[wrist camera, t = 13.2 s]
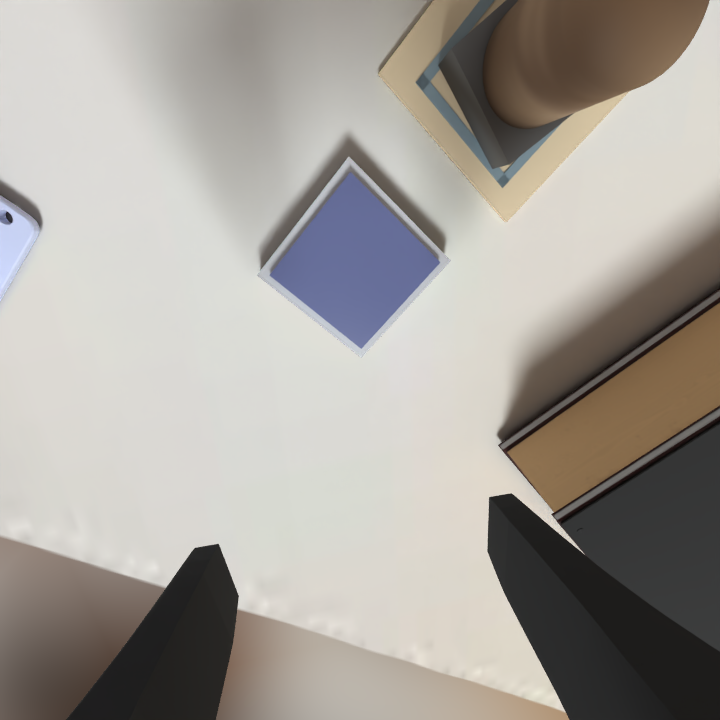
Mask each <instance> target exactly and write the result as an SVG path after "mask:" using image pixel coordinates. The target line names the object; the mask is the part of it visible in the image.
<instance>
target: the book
mask: <svg viewBox="0 0 720 720" xmlns="http://www.w3.org/2000/svg"><path fill="white" fill-rule="evenodd" d="M498 446H499V447H500V448H501V449H502V451H503V452H504V453H505V454H506V456H507V457H508V458H509V459H510V460H511V461H512V463H513V464H514V465H515V466H516V467H517V469H518V470H519V471H520V472H521V473H522V474H523V476H524V477H525V478H526V479H527V480H528V482H529V483H530V484H531V485H532V486H533V487H534V489H535V490H536V491H537V492H538V493H539V495H540V496H541V497H542V498H543V499H544V500H545V502H546V503H547V504H548V505H549V507H550V508H551V509H552V510H553V512H554V513H553V514H552V516H553V517H554V518H555V519H556V520H557V522H558V523H559V525H560V526H561V527H562V528H563V529H564V530H565V532H566V533H567V534H568V535H569V536H570V537H571V539H572V540H573V541H574V542H575V543H576V544H577V546H578V547H579V548H580V549H581V550H582V551H583V553H584V554H585V555H586V556H587V557H588V558H589V559H591V560H592V561H593V562H594V563H596V564H597V565H598V566H599V567H601V568H602V569H603V570H605V571H606V572H607V573H608V574H610V575H611V576H612V577H614V578H615V579H616V580H618V581H619V582H620V583H622V584H623V585H624V586H626V587H627V588H628V589H630V590H631V591H632V592H634V593H635V594H636V595H638V596H639V597H641V598H642V599H643V600H645V601H646V602H647V603H649V604H650V605H652V606H653V607H654V608H656V609H657V610H659V611H660V612H662V613H663V614H664V615H666V616H667V617H669V618H670V619H672V620H673V621H674V622H676V623H677V624H679V625H680V626H682V627H683V628H685V629H686V630H688V631H689V632H691V633H692V634H694V635H695V636H697V637H698V638H700V639H701V640H703V641H704V642H706V643H707V644H709V645H710V646H712V647H714V648H715V649H717V650H718V651H720V289H718V290H717V291H715V292H714V293H713V294H711V295H710V296H708V297H707V298H705V299H704V300H703V301H701V302H700V303H698V304H697V305H696V306H694V307H693V308H691V309H690V310H688V311H687V312H686V313H684V314H683V315H681V316H680V317H679V318H677V319H676V320H674V321H673V322H672V323H670V324H669V325H667V326H666V327H664V328H663V329H662V330H660V331H659V332H657V333H656V334H655V335H653V336H652V337H650V338H649V339H647V340H646V341H645V342H643V343H642V344H640V345H639V346H638V347H636V348H635V349H633V350H632V351H630V352H629V353H628V354H626V355H625V356H623V357H622V358H621V359H619V360H618V361H616V362H615V363H614V364H612V365H611V366H609V367H608V368H606V369H605V370H604V371H602V372H601V373H599V374H598V375H597V376H595V377H594V378H592V379H591V380H589V381H588V382H587V383H585V384H584V385H582V386H581V387H580V388H578V389H577V390H575V391H574V392H573V393H571V394H570V395H568V396H567V397H565V398H564V399H563V400H561V401H560V402H558V403H557V404H556V405H554V406H553V407H551V408H550V409H548V410H547V411H546V412H544V413H543V414H541V415H540V416H539V417H537V418H536V419H534V420H533V421H532V422H530V423H529V424H527V425H526V426H524V427H523V428H522V429H520V430H519V431H517V432H516V433H515V434H513V435H512V436H510V437H509V438H507V439H506V440H505V441H503V442H502V443H500V444H499V445H498Z"/></svg>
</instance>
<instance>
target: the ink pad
mask: <svg viewBox="0 0 720 720" xmlns="http://www.w3.org/2000/svg"><path fill="white" fill-rule="evenodd" d="M450 261H451V260H450V259H449V258H448V257H447V256H446V255H445V254H444V253H443V252H442V251H441V250H440V249H439V248H438V247H437V246H436V245H435V244H434V243H433V242H432V241H431V240H430V239H429V238H428V237H427V236H426V235H425V234H424V233H423V232H422V231H421V230H420V229H419V228H418V227H417V226H416V224H415V223H414V222H413V221H412V220H411V219H410V218H409V217H408V216H407V215H406V214H405V213H404V212H403V211H402V210H401V209H400V208H399V207H398V206H397V205H396V204H395V203H394V202H393V201H392V200H391V199H390V198H389V197H388V196H387V195H386V194H385V193H384V192H383V191H382V190H381V189H380V188H379V187H378V186H377V185H376V184H375V183H374V181H373V180H372V179H371V178H370V177H369V176H368V175H367V174H366V173H365V172H364V171H363V170H362V169H361V168H360V167H359V166H358V165H357V164H356V163H355V162H354V161H353V160H352V159H351V158H350V157H348V158H347V159H346V161H345V162H344V163H343V165H342V166H341V167H340V168H339V170H338V171H337V172H336V174H335V175H334V176H333V177H332V179H331V180H330V181H329V183H328V184H327V185H326V187H325V188H324V189H323V190H322V192H321V193H320V194H319V196H318V197H317V198H316V199H315V201H314V202H313V203H312V205H311V206H310V207H309V208H308V210H307V211H306V212H305V214H304V215H303V216H302V218H301V219H300V220H299V221H298V223H297V224H296V225H295V227H294V228H293V229H292V230H291V232H290V233H289V234H288V236H287V237H286V238H285V239H284V241H283V242H282V243H281V245H280V246H279V247H278V249H277V250H276V251H275V252H274V254H273V255H272V256H271V258H270V259H269V260H268V261H267V263H266V264H265V265H264V267H263V268H262V269H261V270H260V272H259V273H258V274H257V276H258V277H260V278H261V279H262V280H264V281H265V282H266V283H267V284H269V285H270V286H271V287H272V288H274V289H275V290H276V291H277V292H279V293H280V294H281V295H282V296H284V297H285V298H286V299H288V300H289V301H290V302H291V303H293V304H294V305H295V306H296V307H298V308H299V309H300V310H301V311H303V312H304V313H305V314H307V315H308V316H309V317H310V318H312V319H313V320H314V321H315V322H317V323H318V324H319V325H320V326H322V327H323V328H324V329H325V330H327V331H328V332H329V333H331V334H332V335H333V336H334V337H336V338H337V339H338V340H339V341H341V342H342V343H343V344H344V345H346V346H347V347H348V348H350V349H351V350H352V351H353V352H355V353H356V354H357V355H358V356H360V357H361V358H362V357H363V355H364V354H365V353H366V352H367V351H368V350H369V349H370V348H371V347H372V346H373V345H374V344H375V342H376V341H377V340H378V339H379V338H380V337H381V336H382V335H383V334H384V333H385V332H386V331H387V329H388V328H389V327H390V326H391V325H392V324H393V323H394V322H395V321H396V320H397V319H398V317H399V316H400V315H401V314H402V313H403V312H404V311H405V310H406V309H407V308H408V307H409V306H410V304H411V303H412V302H413V301H414V300H415V299H416V298H417V297H418V296H419V295H420V294H421V293H422V291H423V290H424V289H425V288H426V287H427V286H428V285H429V284H430V283H431V282H432V281H433V280H434V278H435V277H436V276H437V275H438V274H439V273H440V272H441V271H442V270H443V269H444V268H445V266H446V265H447V264H448V263H449V262H450Z"/></svg>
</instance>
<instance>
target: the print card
mask: <svg viewBox="0 0 720 720" xmlns="http://www.w3.org/2000/svg"><path fill="white" fill-rule="evenodd" d="M505 1H506V0H433V2H432V3H431V4H430V6H429V7H428V8H427V10H426V11H425V12H424V14H423V15H422V16H421V18H420V19H419V20H418V22H417V23H416V24H415V26H414V27H413V28H412V30H411V31H410V32H409V34H408V35H407V36H406V38H405V39H404V40H403V42H402V43H401V44H400V46H399V47H398V48H397V50H396V51H395V52H394V54H393V55H392V56H391V58H390V59H389V60H388V61H387V63H386V64H385V65H384V67H383V68H382V69H381V71H380V72H379V74H378V75H379V76H380V77H381V78H382V80H383V81H384V82H385V83H386V84H387V85H388V87H389V88H390V89H391V90H392V91H393V92H394V94H395V95H396V96H397V97H398V98H399V99H400V101H401V102H402V103H403V104H404V105H405V106H406V108H407V109H408V110H409V111H410V112H411V113H412V115H413V116H414V117H415V118H416V119H417V120H418V122H419V123H420V124H421V125H422V126H423V127H424V129H425V130H426V131H427V132H428V133H429V134H430V136H431V137H432V138H433V139H434V140H435V141H436V142H437V144H438V145H439V146H440V147H441V148H442V149H443V151H444V152H445V153H446V154H447V155H448V156H449V158H450V159H451V160H452V161H453V162H454V163H455V165H456V166H457V167H458V168H459V169H460V170H461V172H462V173H463V174H464V175H465V176H466V177H467V179H468V180H469V181H470V182H471V183H472V184H473V186H474V187H475V188H476V189H477V190H478V191H479V193H480V194H481V195H482V196H483V197H484V198H485V200H486V201H487V202H488V203H489V204H490V205H491V207H492V208H493V209H494V210H495V211H496V212H497V214H498V215H499V216H500V217H501V218H502V219H503V221H504V222H507V221H508V220H509V219H510V218H511V217H512V216H513V215H514V214H515V213H516V212H517V211H518V209H519V208H520V207H521V206H522V205H523V204H524V203H525V202H526V201H527V200H528V199H529V198H530V197H531V196H532V195H533V193H534V192H535V191H536V190H537V189H538V188H539V187H540V186H541V185H542V184H543V183H544V182H545V181H546V180H547V179H548V177H549V176H550V175H551V174H552V173H553V172H554V171H555V170H556V169H557V168H558V167H559V166H560V165H561V164H562V163H563V161H564V160H565V159H566V158H567V157H568V156H569V155H570V154H571V153H572V152H573V151H574V150H575V149H576V148H577V147H578V145H579V144H580V143H581V142H582V141H583V140H584V139H585V138H586V137H587V136H588V135H589V134H590V133H591V132H592V131H593V129H594V128H595V127H596V126H597V125H598V124H599V123H600V122H601V121H602V120H603V119H604V118H605V117H606V116H607V115H608V113H609V112H610V111H611V110H612V109H613V108H614V107H615V106H616V105H617V104H618V103H619V102H620V101H621V100H622V99H623V97H624V96H625V95H626V94H627V93H628V92H629V91H628V92H626V93H623V94H621V95H618V96H616V97H613V98H611V99H608V100H606V101H603V102H600V103H598V104H595V105H593V106H590V107H588V108H585V109H583V110H580V111H578V112H575V113H574V114H572V115H571V116H570V117H569V118H567V119H566V120H565V121H564V122H562V123H561V124H560V125H559V126H557V127H556V128H555V129H554V130H552V131H551V132H550V133H549V134H547V135H546V136H545V137H544V138H542V139H541V140H540V141H539V142H537V143H536V144H535V145H534V146H532V147H531V148H530V149H528V150H527V151H526V152H525V153H523V154H522V155H521V156H520V157H518V158H517V159H516V160H515V161H513V162H512V163H511V164H510V165H506V166H502V167H498V168H495V169H492V168H491V166H490V164H489V162H488V160H487V158H486V156H485V154H484V152H483V150H482V148H481V146H480V145H479V143H478V141H477V139H476V137H475V135H474V133H473V131H472V129H471V127H470V125H469V123H468V122H467V120H466V118H465V116H464V114H463V112H462V110H461V108H460V106H459V104H458V102H457V100H456V98H455V97H454V95H453V93H452V91H451V89H450V87H449V85H448V83H447V81H446V79H445V77H444V75H443V74H442V72H441V70H440V68H439V66H438V65H439V63H440V62H441V61H442V60H443V58H444V57H445V56H446V55H447V53H448V52H449V51H450V50H451V48H452V47H454V46H455V45H456V44H457V43H458V42H459V41H460V40H462V39H463V38H464V37H465V36H466V35H467V34H468V33H469V32H471V31H472V30H473V29H474V28H475V27H476V26H477V25H479V24H480V23H481V22H482V21H483V20H484V19H485V18H486V17H488V16H489V15H490V14H491V13H492V12H493V11H494V10H496V9H497V8H498V7H499V6H500V5H501V4H502V3H503V2H505Z"/></svg>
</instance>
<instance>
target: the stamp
mask: <svg viewBox="0 0 720 720" xmlns="http://www.w3.org/2000/svg"><path fill="white" fill-rule="evenodd" d="M709 1H710V0H506V1H505V2H503V3H502V4H501V5H500V6H499V7H498V8H497V9H496V10H494V11H493V12H492V13H491V14H490V15H489V16H488V17H486V18H485V19H484V20H483V21H482V22H481V23H480V24H479V25H477V26H476V27H475V28H474V29H473V30H472V31H471V32H469V33H468V34H467V35H466V36H465V37H464V38H463V39H462V40H460V41H459V42H458V43H457V44H456V45H455V46H454V47H452V48H451V50H450V51H449V52H448V53H447V55H446V56H445V57H444V58H443V60H442V61H441V62H440V63H439V65H438V66H439V68H440V70H441V72H442V74H443V75H444V77H445V79H446V81H447V83H448V85H449V87H450V89H451V91H452V93H453V95H454V97H455V98H456V100H457V102H458V104H459V106H460V108H461V110H462V112H463V114H464V116H465V118H466V120H467V122H468V123H469V125H470V127H471V129H472V131H473V133H474V135H475V137H476V139H477V141H478V143H479V145H480V146H481V148H482V150H483V152H484V154H485V156H486V158H487V160H488V162H489V164H490V166H491V168H492V169H495V168H498V167H502V166H506V165H510V164H511V163H512V162H513V161H515V160H516V159H517V158H518V157H520V156H521V155H522V154H523V153H525V152H526V151H527V150H528V149H530V148H531V147H532V146H534V145H535V144H536V143H537V142H539V141H540V140H541V139H542V138H544V137H545V136H546V135H547V134H549V133H550V132H551V131H552V130H554V129H555V128H556V127H557V126H559V125H560V124H561V123H562V122H564V121H565V120H566V119H567V118H569V117H570V116H571V115H572V114H574V113H575V112H578V111H580V110H583V109H585V108H588V107H590V106H593V105H595V104H598V103H600V102H603V101H606V100H608V99H611V98H613V97H616V96H618V95H621V94H623V93H626V92H628V91H631V90H633V89H636V88H638V87H641V86H643V85H645V84H647V83H649V82H651V81H653V80H654V79H656V78H657V77H659V76H660V75H662V74H663V73H664V72H665V71H666V70H667V69H669V68H670V67H671V66H672V65H673V64H674V63H675V62H676V61H677V59H678V58H679V57H680V56H681V55H682V53H683V52H684V51H685V50H686V48H687V47H688V45H689V44H690V42H691V41H692V39H693V38H694V36H695V34H696V32H697V30H698V28H699V26H700V24H701V22H702V20H703V17H704V15H705V13H706V10H707V7H708V4H709Z"/></svg>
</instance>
